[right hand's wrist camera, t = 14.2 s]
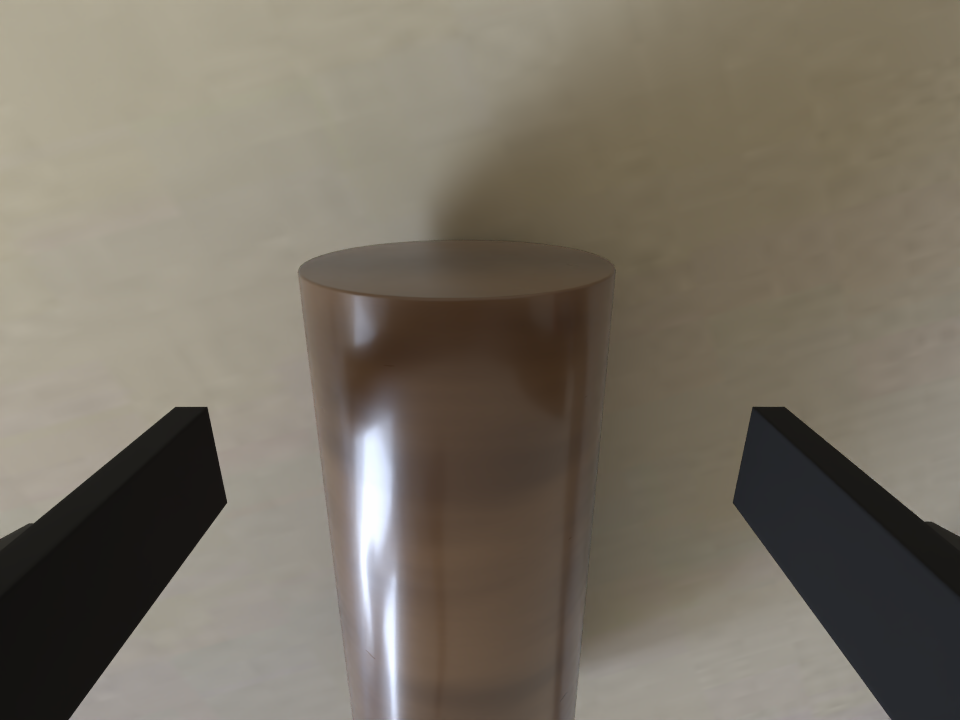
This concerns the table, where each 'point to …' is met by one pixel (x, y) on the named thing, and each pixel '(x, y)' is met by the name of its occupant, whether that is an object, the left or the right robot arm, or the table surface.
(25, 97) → the table surface
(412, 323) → the rod
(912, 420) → the table surface
